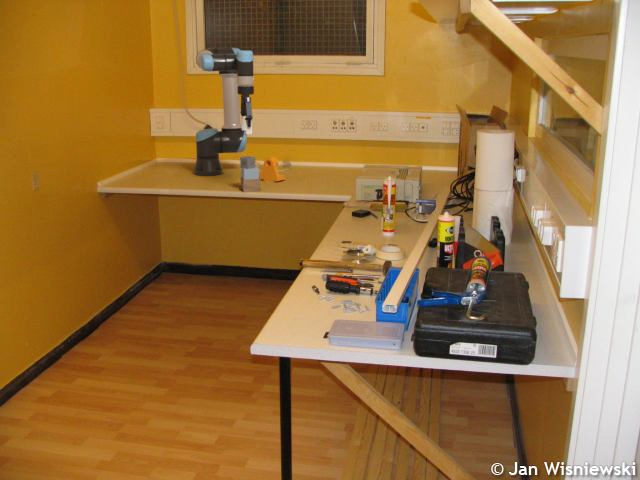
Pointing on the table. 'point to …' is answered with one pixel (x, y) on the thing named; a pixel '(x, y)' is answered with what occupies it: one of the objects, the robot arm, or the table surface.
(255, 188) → the tower bottom
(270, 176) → the bracket
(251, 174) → the tower top
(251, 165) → the dice cube
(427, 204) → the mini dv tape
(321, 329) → the table surface
